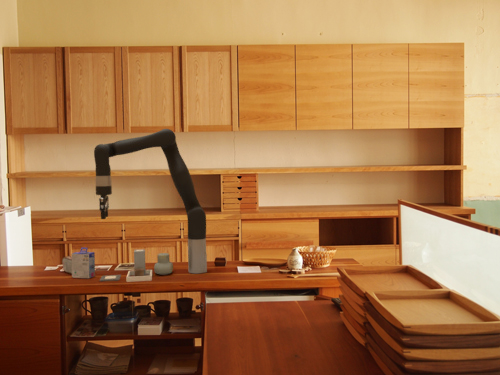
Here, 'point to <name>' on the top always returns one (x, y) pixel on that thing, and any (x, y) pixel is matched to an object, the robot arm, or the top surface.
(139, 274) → the walnut block
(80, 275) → the ink cartridge box
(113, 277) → the pad
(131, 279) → the bin rim
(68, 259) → the tin
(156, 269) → the air freshener
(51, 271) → the top surface
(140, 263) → the label box
